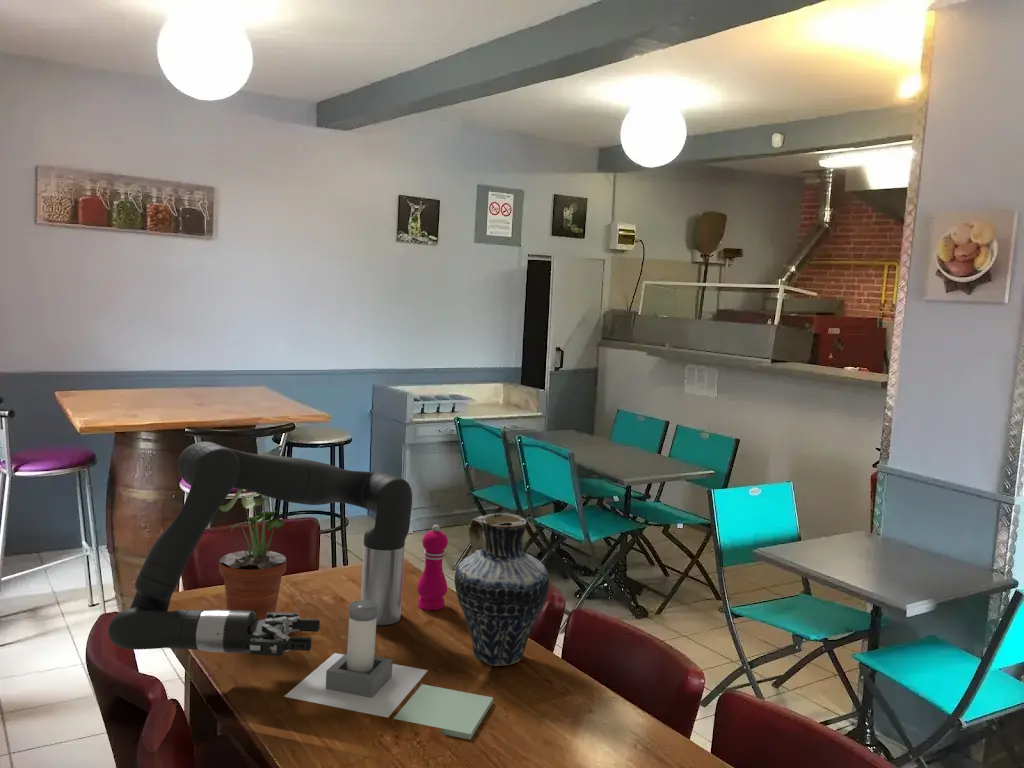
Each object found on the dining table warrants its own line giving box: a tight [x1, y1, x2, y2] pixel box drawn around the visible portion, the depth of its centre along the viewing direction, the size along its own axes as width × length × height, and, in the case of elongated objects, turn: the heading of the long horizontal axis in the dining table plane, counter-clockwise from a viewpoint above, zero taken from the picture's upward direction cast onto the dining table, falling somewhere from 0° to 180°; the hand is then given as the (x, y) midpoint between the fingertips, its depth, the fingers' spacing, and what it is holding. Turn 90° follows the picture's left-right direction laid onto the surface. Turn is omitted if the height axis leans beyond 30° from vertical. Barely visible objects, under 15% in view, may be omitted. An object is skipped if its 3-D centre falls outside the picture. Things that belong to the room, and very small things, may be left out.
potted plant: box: [218, 488, 287, 620], centre depth 186 cm, size 16×15×35 cm
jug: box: [454, 512, 550, 667], centre depth 173 cm, size 21×19×30 cm
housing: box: [283, 652, 429, 718], centre depth 157 cm, size 20×20×4 cm
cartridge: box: [346, 599, 378, 675], centre depth 157 cm, size 5×5×15 cm
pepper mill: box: [416, 524, 449, 611], centre depth 200 cm, size 7×7×20 cm
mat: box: [393, 683, 494, 740], centre depth 150 cm, size 14×14×1 cm
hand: (315, 634), depth 156 cm, fingers open, 8 cm apart
